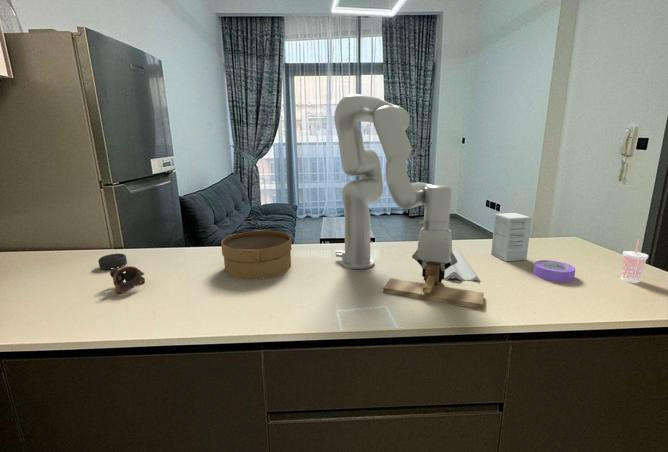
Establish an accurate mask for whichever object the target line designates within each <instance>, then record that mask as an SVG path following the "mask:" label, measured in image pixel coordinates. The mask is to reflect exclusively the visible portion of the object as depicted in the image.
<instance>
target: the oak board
mask: <svg viewBox="0 0 668 452" xmlns="http://www.w3.org/2000/svg"><path fill="white" fill-rule="evenodd" d="M424 284H425V282H419V281H418V282H417V281H412V280H407V279H406V280H405V279H404V280H403V279H398V278H392V277H391V278H390V277H389V279H388V280H387V282H386V284H384V285H383V289H382V292H383V293H387V294H391V295H392V294H393V295H399V296H404V297H409V298H416V299H420V300H427V301H432V302H438V303H442V304H443V303H444V304H448V305H454V306H462V307H466V308H473V309H478V310H483V309H484V296H485V295H484V294H485V293H484V292H481V291H477V290H476V291H474V290H468V289H464V288H463V289H462V288H457V287H456V288H455V287H449V286H445V285H444V286H443V285H439V286H438V285H433V287H432V289H431V291H430V293H426V292H423V286H424Z"/></svg>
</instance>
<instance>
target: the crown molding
mask: <svg viewBox="0 0 668 452" xmlns="http://www.w3.org/2000/svg"><path fill="white" fill-rule="evenodd" d="M452 252H453V254H454V256H455V257H456V259H457V263H456V264H454V265H452V266H450V267H449V268H447V269H446V270H445V275H444V280H443V281H445V280H446V281H448V280H449V279H454V280H455V279H458V280H459V281H463V282H464V281H467V282H473V281H478V282H479V281H481V279H480V278H479V275H477V273H476V272H475V270H474V269H473V268H472V267H471V265H470V263H469V262H468V261H467V260H466V258H465V256H464V255H463V254H462V252H461V251H460V250H459V248H458V247H455V248H452ZM450 261H451V259H450Z"/></svg>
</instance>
